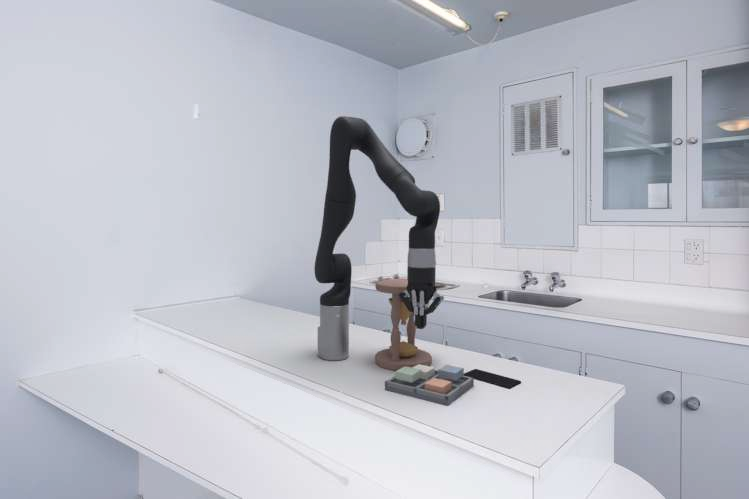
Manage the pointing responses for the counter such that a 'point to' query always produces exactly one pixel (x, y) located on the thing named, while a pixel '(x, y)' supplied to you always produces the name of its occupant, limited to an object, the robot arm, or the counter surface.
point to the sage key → (408, 374)
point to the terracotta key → (438, 385)
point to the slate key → (451, 372)
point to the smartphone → (493, 378)
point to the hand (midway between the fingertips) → (420, 328)
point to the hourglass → (399, 351)
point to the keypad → (419, 391)
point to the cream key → (426, 370)
